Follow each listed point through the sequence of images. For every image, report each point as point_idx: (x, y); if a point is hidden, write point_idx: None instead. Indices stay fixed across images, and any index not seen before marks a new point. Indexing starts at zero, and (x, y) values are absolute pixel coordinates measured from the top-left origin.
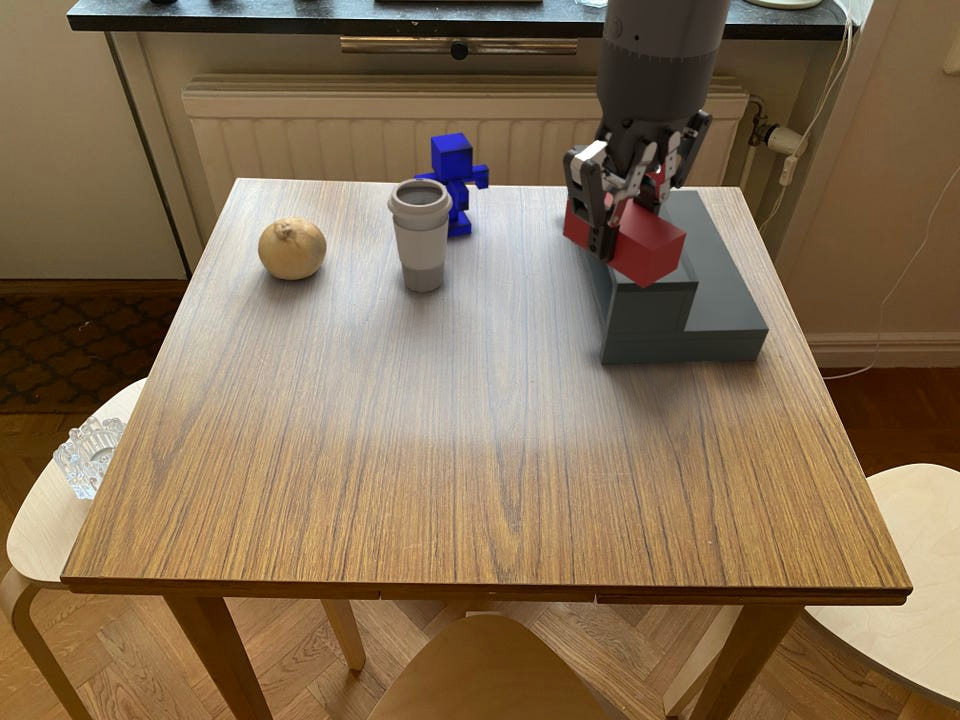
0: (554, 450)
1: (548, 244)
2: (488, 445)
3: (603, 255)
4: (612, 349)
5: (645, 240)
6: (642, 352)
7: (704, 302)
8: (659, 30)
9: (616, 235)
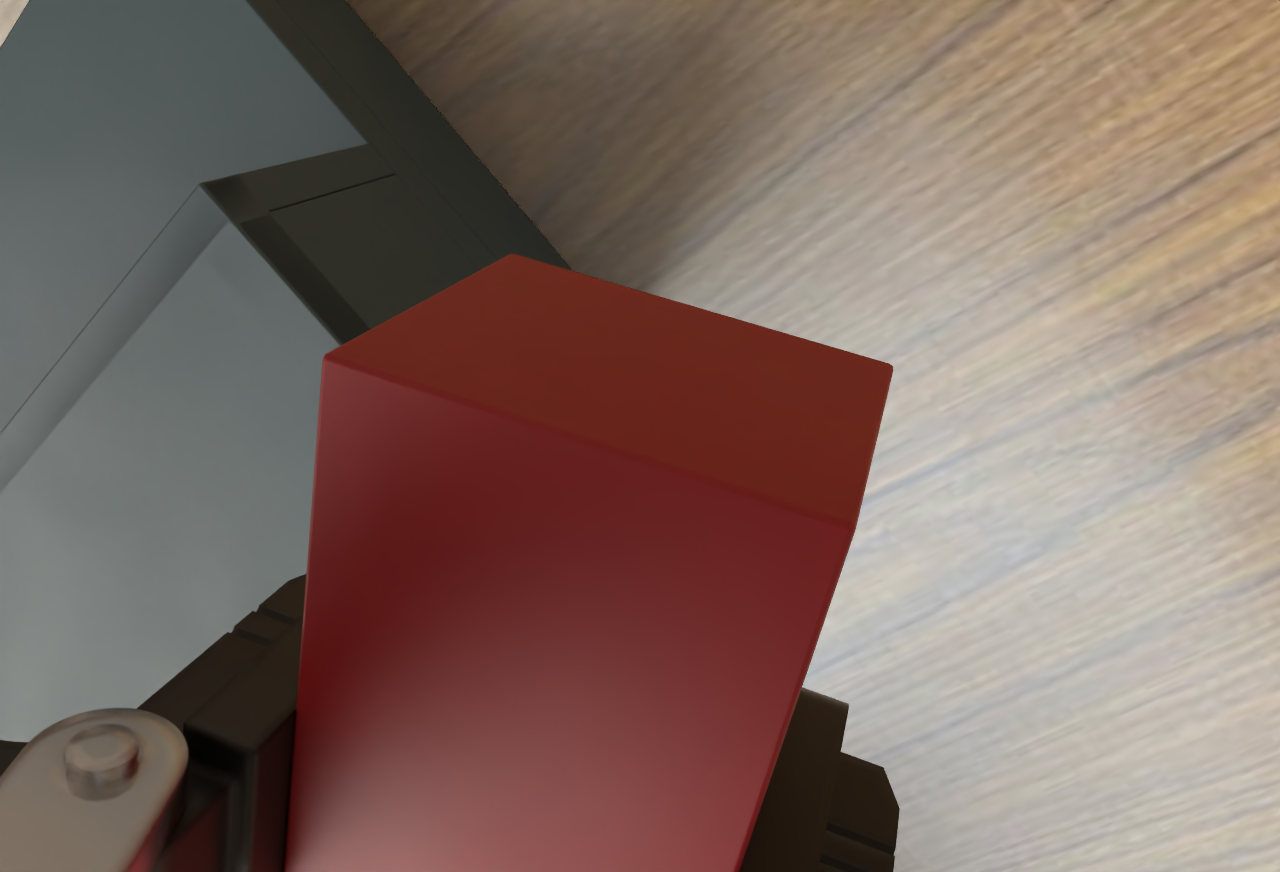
0: (1102, 276)
1: None
2: (1212, 477)
3: (850, 777)
4: None
5: (715, 645)
6: (514, 237)
7: (183, 153)
8: None
9: (763, 859)
